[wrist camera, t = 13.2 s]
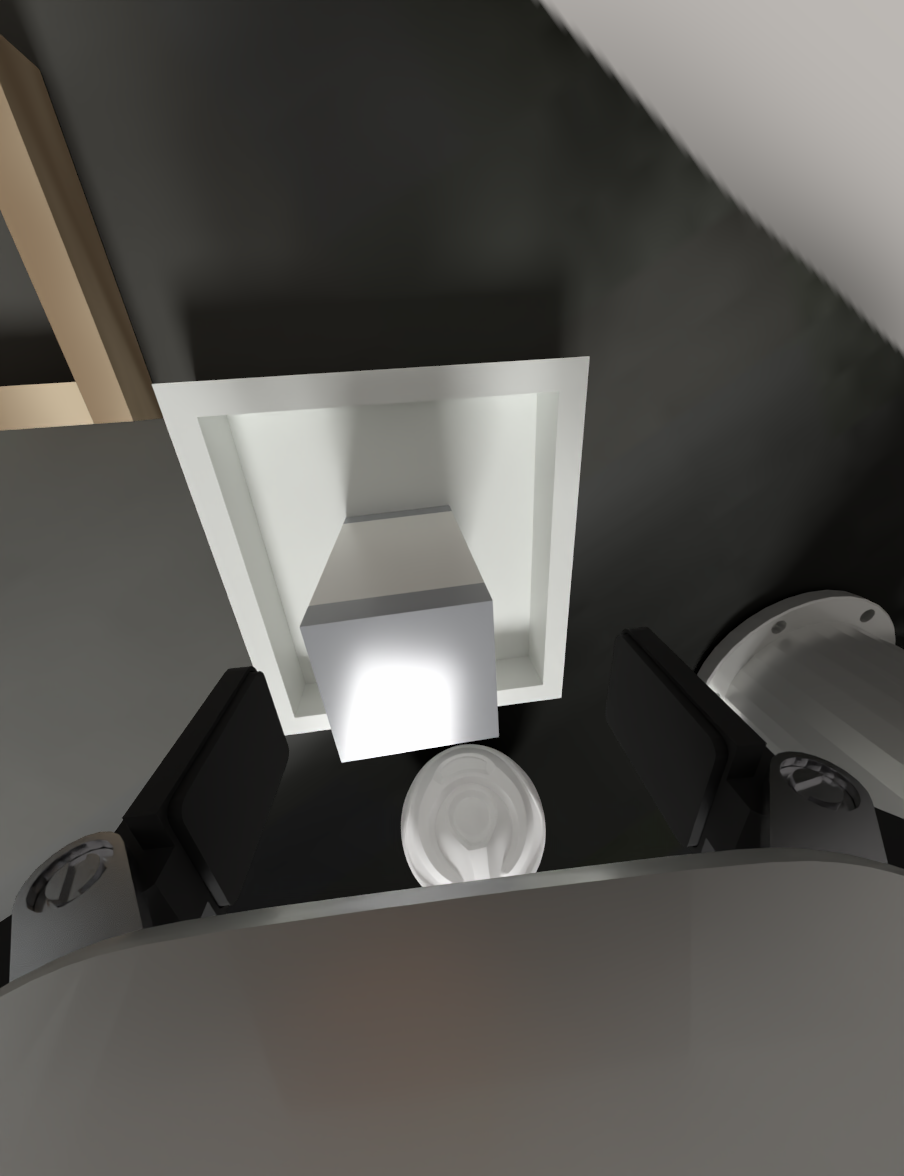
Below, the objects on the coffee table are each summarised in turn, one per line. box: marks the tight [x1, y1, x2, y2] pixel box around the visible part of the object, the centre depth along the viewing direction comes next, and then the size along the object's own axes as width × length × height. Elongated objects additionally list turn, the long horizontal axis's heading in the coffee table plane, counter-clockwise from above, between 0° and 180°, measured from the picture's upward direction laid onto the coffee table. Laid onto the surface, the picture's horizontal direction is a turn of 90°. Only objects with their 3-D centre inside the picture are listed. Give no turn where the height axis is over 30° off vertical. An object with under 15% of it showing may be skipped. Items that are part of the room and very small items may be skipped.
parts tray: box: [152, 356, 590, 735], centre depth 17 cm, size 14×15×3 cm
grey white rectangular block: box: [300, 505, 499, 762], centre depth 14 cm, size 4×4×9 cm
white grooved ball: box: [401, 744, 545, 887], centre depth 22 cm, size 8×8×8 cm
